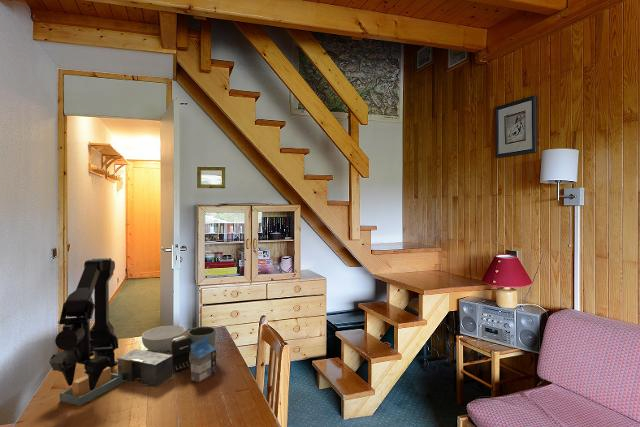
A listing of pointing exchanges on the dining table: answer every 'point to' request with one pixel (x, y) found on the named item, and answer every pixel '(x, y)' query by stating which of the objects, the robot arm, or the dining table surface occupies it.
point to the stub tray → (70, 398)
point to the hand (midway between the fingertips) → (81, 387)
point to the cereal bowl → (161, 337)
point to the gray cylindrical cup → (202, 335)
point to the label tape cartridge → (202, 360)
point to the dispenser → (145, 367)
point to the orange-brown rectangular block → (82, 383)
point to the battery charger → (180, 353)
